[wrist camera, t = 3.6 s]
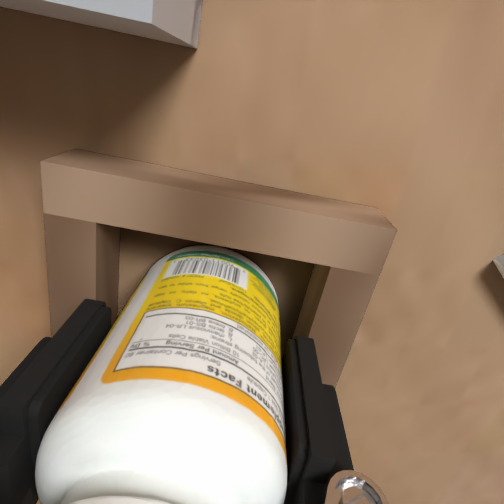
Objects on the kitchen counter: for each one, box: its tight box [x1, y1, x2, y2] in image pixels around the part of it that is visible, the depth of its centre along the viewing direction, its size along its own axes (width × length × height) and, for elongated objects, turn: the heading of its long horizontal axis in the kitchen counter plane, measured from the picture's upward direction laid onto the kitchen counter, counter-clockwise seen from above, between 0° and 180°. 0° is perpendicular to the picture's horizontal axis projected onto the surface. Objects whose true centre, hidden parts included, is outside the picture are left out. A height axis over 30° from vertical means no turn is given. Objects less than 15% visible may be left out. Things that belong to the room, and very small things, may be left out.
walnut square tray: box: [40, 149, 397, 388], centre depth 13 cm, size 10×10×2 cm
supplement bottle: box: [35, 246, 287, 504], centre depth 9 cm, size 5×5×10 cm
